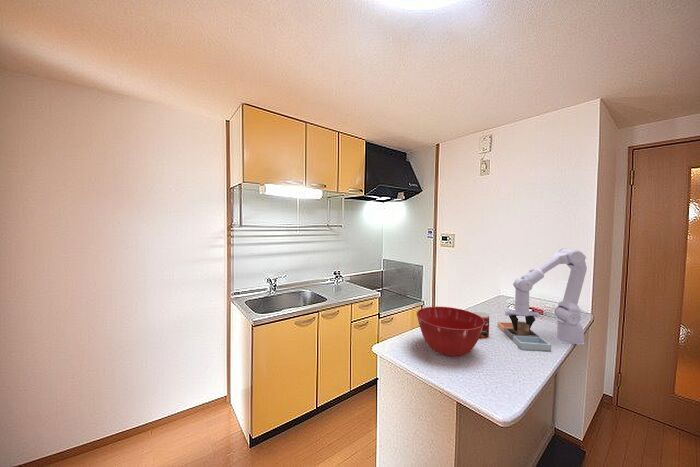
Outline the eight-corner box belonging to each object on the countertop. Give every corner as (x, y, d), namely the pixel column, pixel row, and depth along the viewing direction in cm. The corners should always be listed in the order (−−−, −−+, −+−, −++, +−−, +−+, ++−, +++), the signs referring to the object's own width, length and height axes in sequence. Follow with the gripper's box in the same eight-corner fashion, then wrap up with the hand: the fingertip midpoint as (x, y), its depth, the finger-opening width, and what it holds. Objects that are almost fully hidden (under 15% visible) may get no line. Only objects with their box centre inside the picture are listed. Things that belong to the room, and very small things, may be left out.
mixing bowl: (486, 344, 123) (487, 312, 123) (481, 374, 99) (482, 333, 98) (425, 332, 138) (425, 303, 137) (407, 355, 113) (408, 320, 113)
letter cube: (524, 331, 133) (524, 321, 133) (529, 335, 128) (529, 325, 128) (513, 331, 134) (513, 320, 134) (518, 334, 129) (518, 324, 129)
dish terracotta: (521, 328, 143) (521, 323, 143) (529, 334, 135) (529, 329, 134) (497, 327, 144) (497, 321, 144) (503, 333, 136) (503, 327, 136)
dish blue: (540, 343, 125) (540, 337, 125) (551, 351, 117) (551, 344, 117) (512, 341, 127) (512, 335, 127) (521, 349, 119) (521, 343, 118)
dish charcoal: (530, 335, 134) (530, 329, 134) (539, 342, 126) (539, 336, 126) (504, 334, 136) (504, 328, 135) (511, 341, 127) (511, 334, 127)
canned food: (471, 337, 132) (471, 315, 131) (472, 331, 139) (472, 310, 138) (489, 340, 128) (489, 318, 128) (489, 334, 135) (489, 313, 135)
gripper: (533, 301, 133) (533, 328, 133) (502, 300, 135) (502, 326, 135) (541, 305, 126) (541, 333, 126) (508, 304, 128) (508, 332, 129)
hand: (521, 330), depth 130 cm, fingers closed on letter cube, 5 cm apart
